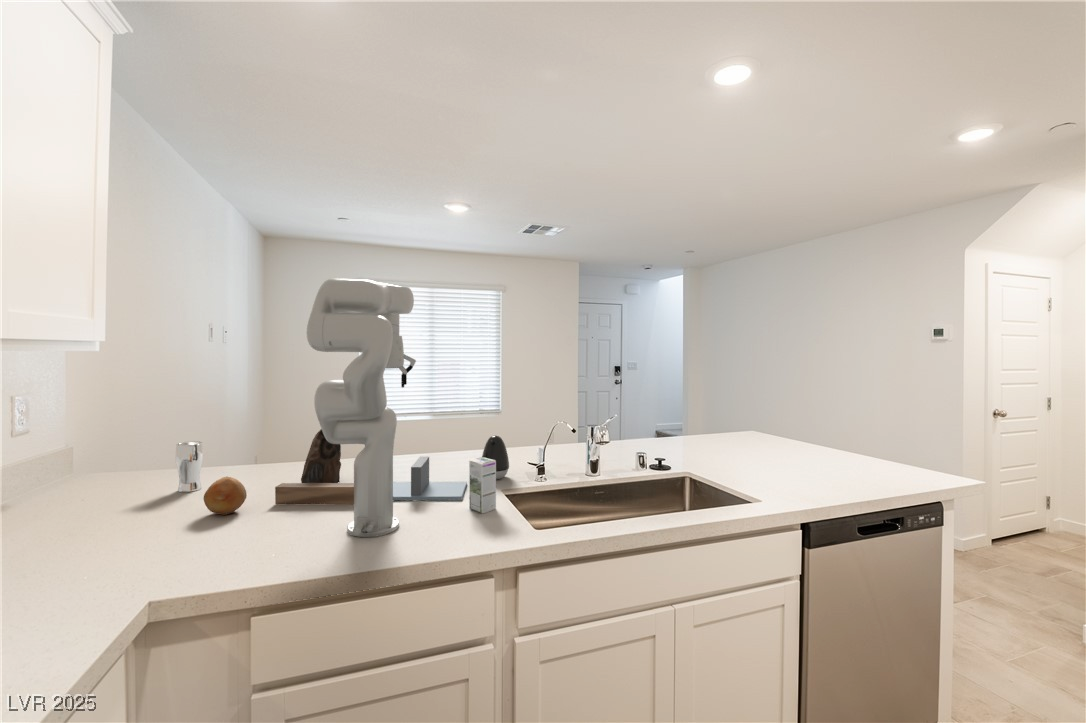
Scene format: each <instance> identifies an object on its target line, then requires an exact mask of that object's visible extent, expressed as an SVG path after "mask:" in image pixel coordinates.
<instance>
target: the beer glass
mask: <svg viewBox="0 0 1086 723" xmlns="http://www.w3.org/2000/svg"><path fill="white" fill-rule="evenodd" d="M202 443H203V442H202V441H199V440H198V441H197V440H193V441H184V442H179V443H178V442H177V443H176V448H175V463H176V469H177V473H178V478H179V479H178V480H179V482H178V486H177V487H178V488H177V492H179V493H193V492H196V490H197V491H199V489H200V490H201V489H202V484H201V479H200V478H201V475H200V474H201V470H202V465H203V456H204V455H203V444H202ZM192 491H193V492H192Z"/></svg>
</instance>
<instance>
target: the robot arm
mask: <svg viewBox="0 0 1086 723" xmlns="http://www.w3.org/2000/svg"><path fill="white" fill-rule="evenodd" d="M414 299H415V298H414V294H413V291H412V289H411V288H410V287H408V286H401V285H396V284H389V283H385V282H377V281H374V280H372V279H357V278H356V279H355V278H354V279H353V278H328V279H325V281H323V283H322V284H321V285H320V287H319V289H318V290H317V293H316V296H315V299H314V301H313V304H312V309H311V312H310V313H309V318H308V321H307V324H306V326H307V327H306V339H307V343H308V345H309V346H310V347H311V348H312V349H313V350H315V351H317V352H324V353H361V354H359V355H358V356H357V357H355V358H354V359H353V360H352V361H351V362H350V363H349V364H348V365H347V366H346V368H345V369H344V371H343V374H342V379H330V380H326V381H323V382H321V383H320V384H319V385H318V387H317V388H316V390H315V395H314V400H313V401H314V404H313V405H314V411H315V414H316V415H315V416H316V418H317V421H318V423H319V426H320V428H321V429H322V431H323V434H324V436H325V438H326V440H327V441H328V442H329V443H332V444H340V445H364V447H363V448H362V450H361V451H360V452H359V453H358V454H357V455H356V457H355V459H354V463H353V483H354V504H353V520H352V521H351V522H350V523H349V524H348V525H347V526H346V527H347V528H346V529H347V533H348V534H349V535H351V536H354V537H359V538H374V537H379V536H384V535H388V534H390V533H392V532H395V531H396V530H397V529H398V528H399V526H400V520H399V519H398V518H397V517H396V516H395V517H394V501H393V482H394V447H395V446H394V445H395V437H396V430H397V423H398V420H397V414H396V412H395V411H394V410H393V409H391V408H390V407H387V402H388V401H387V392H386V387H385V381H384V373H385V370H386V369H399V371H401V377H400V378H401V381H400V382H401V383H400V384H401V385H400V386H401V388H402V389H403V388H405V385H407V382H408V381H407V378H408V377H407V375H408V373H409V372H410V371H411V370H412V369H413V367H414V366H415V364H416V362H417V360H416V359H415V358H413V357H411V356H408V354H405V353H404V351H405V350H404V343H403V342H404V341H403V336H402V335H400V315H401V314H402V315H409V314H410V313H411V312H412V310H413V308H414V301H415V300H414ZM405 360H406V361H408V362H409V365H408V366H407V367H406V368H405V366H404V364H405ZM321 429H320V430H321Z"/></svg>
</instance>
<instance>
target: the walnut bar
mask: <svg viewBox="0 0 1086 723" xmlns="http://www.w3.org/2000/svg"><path fill="white" fill-rule="evenodd" d="M274 491H275V493H274V495H275V497H274V498H275V499H274V500H275V502H274V504H335V505H354V482H339V483H301V482H282V483H280V484H278V485H276V486H275V487H274Z"/></svg>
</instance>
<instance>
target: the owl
mask: <svg viewBox="0 0 1086 723" xmlns="http://www.w3.org/2000/svg"><path fill="white" fill-rule="evenodd" d="M341 445H342V444H332V443H329V442H328V441H327V440H326V438H325V436H324V434H323V431H322V429H319V430H318V432H316V434H315V435H314V437H313V439H312V441H311V444H310V447H309V450H308V453H307V456H306V459H305V462H304V464H303V470H302V475H301V478H300V481H301V482H300V483H338V482H339V483H341V482H340V473H341V469H342V468H341V467H342V463H341V462H342V461H341V457H342V456H341V455H342V452H341V451H342V450H341V449H342V446H341Z"/></svg>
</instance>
